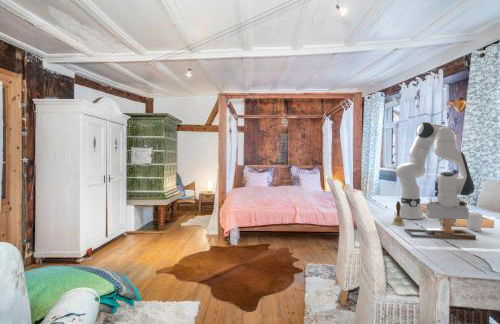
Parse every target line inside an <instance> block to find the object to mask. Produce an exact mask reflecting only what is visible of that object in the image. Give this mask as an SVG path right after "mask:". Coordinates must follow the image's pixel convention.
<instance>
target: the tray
mask: <svg viewBox="0 0 500 324" xmlns="http://www.w3.org/2000/svg"><path fill="white" fill-rule="evenodd" d="M403 230H404V232H405V233H406V234H407V235H409V236H410V237H411V238H425V239H427V238H428V239H429V238H431V239H437V238H436V235H426V234H413V233H415V232H416V233H417V232H418V233H425V228H424V229H421V228H419V229H418V228H417V229H416V228H404V229H403Z"/></svg>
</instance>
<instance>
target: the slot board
mask: <svg viewBox="0 0 500 324" xmlns="http://www.w3.org/2000/svg"><path fill="white" fill-rule="evenodd" d="M435 229H437V228H436V227H435ZM451 229H452V230H454V233H434V235H436V238H435V239H436V240H437V239H440V240H442V239H444V240H467V241H477V235H475V234H474V233H471V232H469V231H468V230H465V228H464V229H463V228H461V229H459V228H451Z"/></svg>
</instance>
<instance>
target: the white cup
mask: <svg viewBox="0 0 500 324" xmlns="http://www.w3.org/2000/svg"><path fill="white" fill-rule="evenodd" d="M465 222H466V229H468V230H471V231H472V232H481V231H482V223H483V213H480V212H475V211H474V212H473V211H472V212H471V211H469V218H468V219H465Z"/></svg>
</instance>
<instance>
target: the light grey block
mask: <svg viewBox="0 0 500 324" xmlns="http://www.w3.org/2000/svg"><path fill="white" fill-rule="evenodd" d="M435 228H436V227H435ZM435 228H433V229H434V230H436V233H444V231H443V230H442V229H440V228H436V229H435Z"/></svg>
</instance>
